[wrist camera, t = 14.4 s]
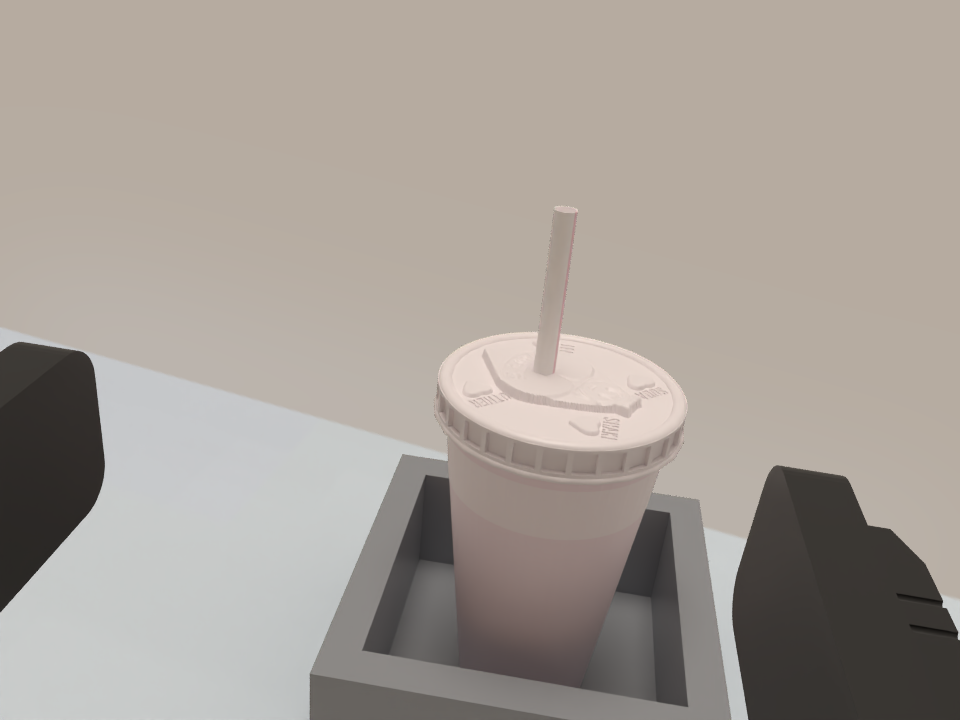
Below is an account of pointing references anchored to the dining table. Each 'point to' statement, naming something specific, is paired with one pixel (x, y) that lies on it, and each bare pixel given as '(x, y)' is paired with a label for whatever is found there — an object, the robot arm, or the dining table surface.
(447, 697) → the box
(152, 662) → the dining table surface
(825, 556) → the robot arm
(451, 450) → the smoothie
